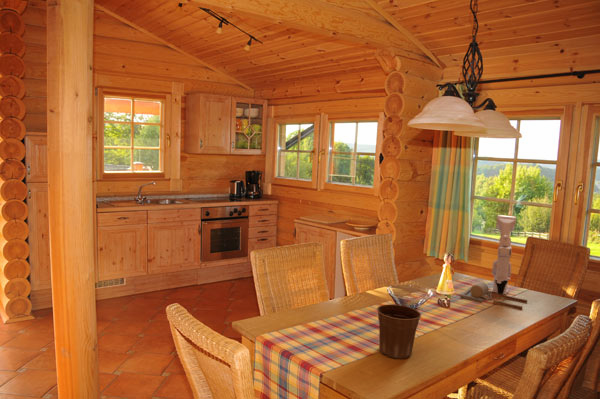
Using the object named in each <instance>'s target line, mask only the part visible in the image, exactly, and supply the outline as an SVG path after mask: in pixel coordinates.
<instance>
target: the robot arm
mask: <svg viewBox="0 0 600 399" xmlns="http://www.w3.org/2000/svg"><path fill="white" fill-rule="evenodd" d="M516 222H517V217H516V216H510V215H503V214H502V215H501V214H498V215H497V217H496V230H498V231H499V232H500V236H499V240H498V247H497V259H496V260H494V261H493V262H492V266H491V274H492V276H493V282H492V283H493V284H492V289H491V290H490V291H492V293H496V294H498V295H499V294H501V295H507V294H508V293H509V291H510V290H509V289H508V283H509V281H511V276H512V263H511V262H510V259H511V257H512V251H513V248H512V246H511V244H512V239H511V237H510V233H511V232H514V230H515V227H516Z"/></svg>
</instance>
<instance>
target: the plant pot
mask: <svg viewBox="0 0 600 399" xmlns="http://www.w3.org/2000/svg"><path fill="white" fill-rule="evenodd" d="M376 310H377V313H378V314H377V315H378V318H377V319H378V320H377V321H378V324H379V325H378V326H379V327H378V330H379V331H378V332H379V339H378V340H379V347H378V348H379V352H380V353H381V354H383V355H386V356H387V357H389V358H392V359H398V360H399V359H400V360H401V359H407V358H410V357H411V356H412V354H413V350H414V349H413V348H414V343H415V338H416V332H417V329H418V326H419V322H420V319H421V317H422V313H421V311H419V310H417V309H415V308H414V307H410V306H406V305H402V304H392V303H391V304H383V305H379V306H377V308H376Z"/></svg>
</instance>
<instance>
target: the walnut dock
mask: <svg viewBox="0 0 600 399" xmlns="http://www.w3.org/2000/svg"><path fill="white" fill-rule="evenodd" d="M498 298H499V299H506V300H511V301H515V302H520V303H524V304H527V303H528V299H525V298H519V297H513V296H509V295H507V294H498ZM492 304H494V305H498V306H504V307H508V308H511V309H516V310H523V309H524V308H523V306H522V305H517V304H515V303H514V304H513V303H507V302H503V301H501V300H500V301H499V300H494V299H493V300H492Z"/></svg>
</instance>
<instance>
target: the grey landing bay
mask: <svg viewBox="0 0 600 399" xmlns="http://www.w3.org/2000/svg"><path fill="white" fill-rule="evenodd" d="M471 287H472V286H469V288H468V289H466V290H465V291H463V293H461V294H460V298H461V299H465V300H470V301H475V302H479V303H482V302H483V303H484V298H476V297H474V296H470V295H468V294H470V293H471V292H470V289H471ZM488 293H490V294H491V295H492V293H493V292H492V291H491V290H489V291H488Z"/></svg>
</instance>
